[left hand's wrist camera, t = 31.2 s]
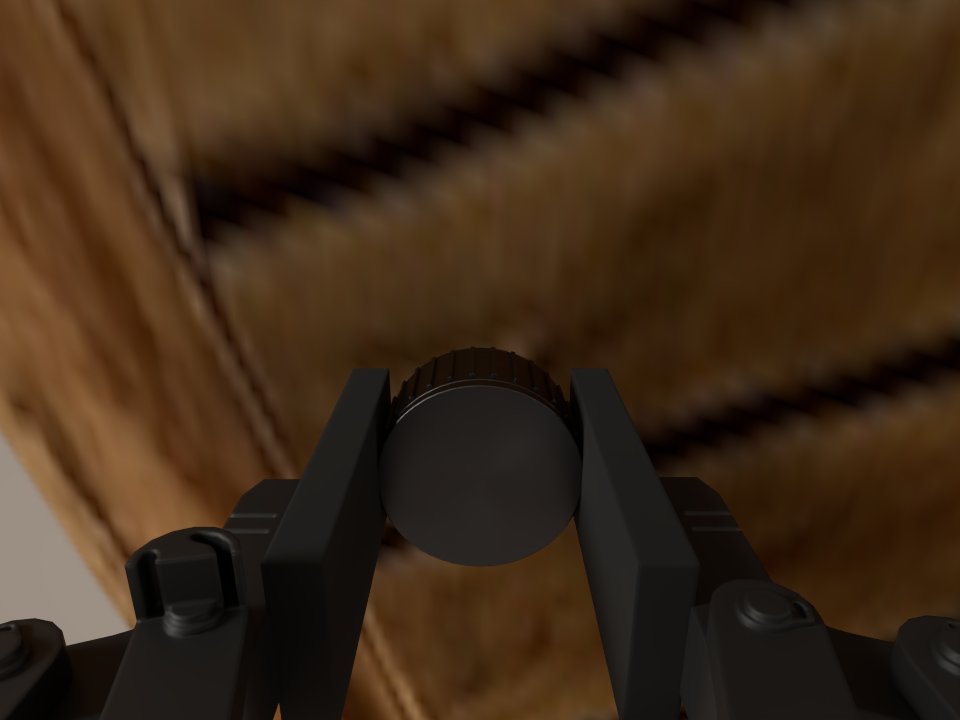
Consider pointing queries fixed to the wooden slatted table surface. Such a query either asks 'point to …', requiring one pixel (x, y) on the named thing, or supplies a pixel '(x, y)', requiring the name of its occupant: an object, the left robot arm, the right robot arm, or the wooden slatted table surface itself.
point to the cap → (480, 458)
